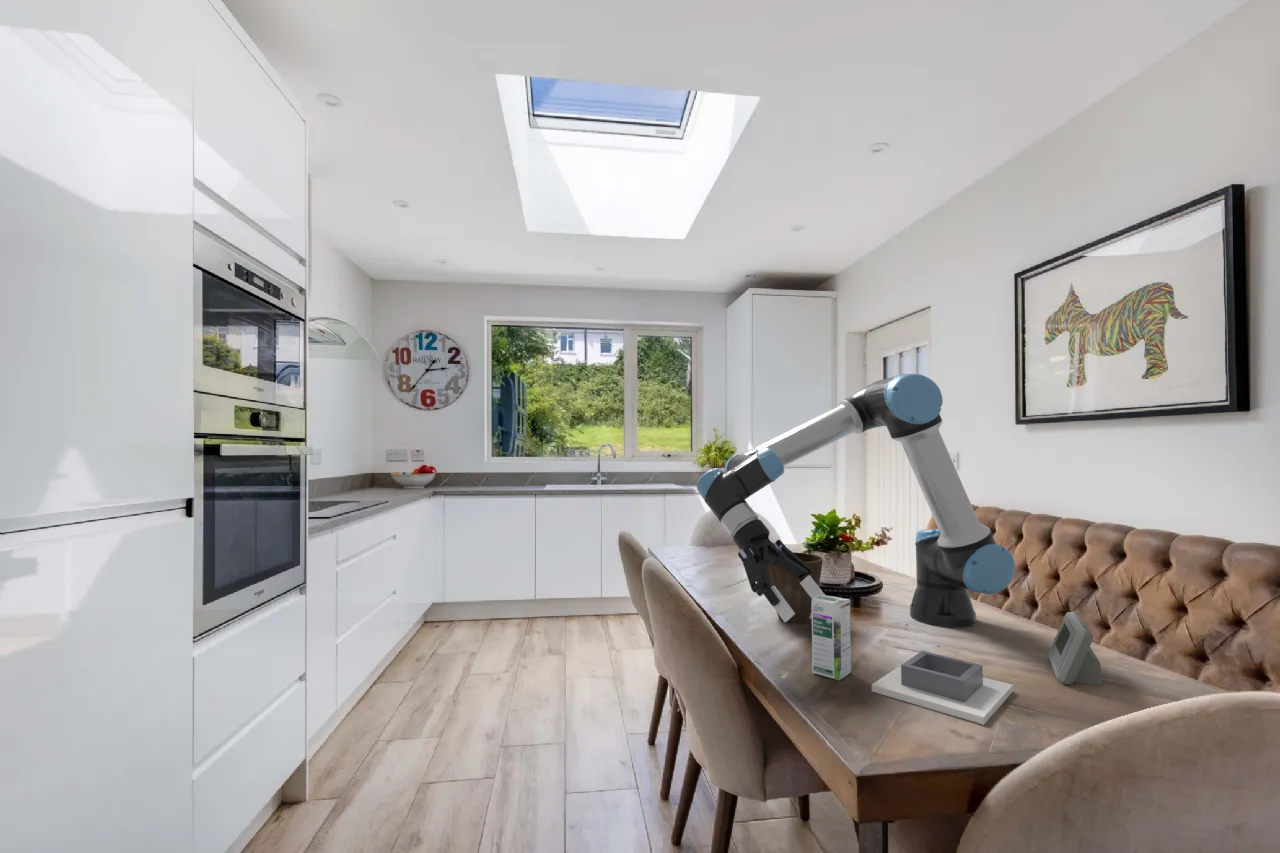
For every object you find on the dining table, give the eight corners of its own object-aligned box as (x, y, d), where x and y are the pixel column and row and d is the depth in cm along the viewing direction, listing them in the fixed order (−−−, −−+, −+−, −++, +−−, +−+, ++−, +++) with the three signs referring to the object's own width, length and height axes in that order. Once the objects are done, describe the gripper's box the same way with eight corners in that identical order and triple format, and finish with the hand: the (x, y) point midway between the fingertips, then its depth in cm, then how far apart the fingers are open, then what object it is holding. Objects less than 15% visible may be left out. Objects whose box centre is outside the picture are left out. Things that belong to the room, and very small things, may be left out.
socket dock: (909, 665, 117) (909, 641, 117) (1013, 691, 104) (1012, 665, 104) (871, 691, 104) (871, 664, 105) (983, 725, 92) (983, 694, 92)
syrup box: (810, 673, 113) (810, 598, 113) (824, 665, 117) (823, 593, 118) (839, 681, 109) (838, 603, 110) (852, 672, 113) (850, 597, 114)
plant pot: (761, 609, 158) (761, 550, 158) (818, 612, 156) (817, 552, 156) (766, 626, 143) (765, 561, 143) (828, 629, 141) (827, 563, 141)
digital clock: (1049, 657, 121) (1048, 606, 122) (1104, 668, 115) (1102, 614, 116) (1039, 681, 109) (1037, 624, 110) (1100, 694, 103) (1098, 634, 104)
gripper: (767, 533, 138) (826, 610, 127) (700, 545, 121) (761, 635, 109) (786, 513, 134) (849, 589, 123) (720, 522, 117) (786, 612, 106)
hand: (808, 611), depth 116 cm, fingers open, 13 cm apart
